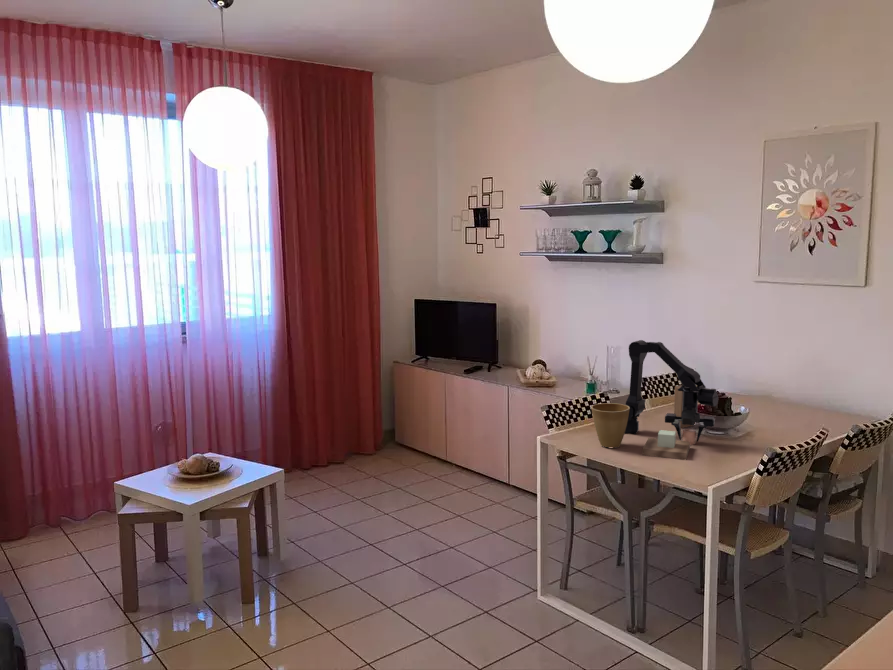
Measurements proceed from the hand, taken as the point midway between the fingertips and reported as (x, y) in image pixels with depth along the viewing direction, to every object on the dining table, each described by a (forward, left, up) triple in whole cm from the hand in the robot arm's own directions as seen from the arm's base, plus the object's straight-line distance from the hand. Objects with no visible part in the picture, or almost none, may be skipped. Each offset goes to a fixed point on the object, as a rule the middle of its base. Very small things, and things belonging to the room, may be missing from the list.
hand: (688, 440), depth 294 cm
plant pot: (-29, -15, -1) cm, 33 cm away
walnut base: (-7, -15, -1) cm, 17 cm away
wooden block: (-4, +26, -1) cm, 26 cm away
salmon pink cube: (0, 0, -1) cm, 1 cm away
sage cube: (-7, -15, +2) cm, 17 cm away
